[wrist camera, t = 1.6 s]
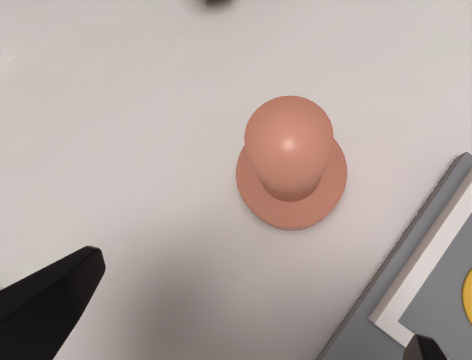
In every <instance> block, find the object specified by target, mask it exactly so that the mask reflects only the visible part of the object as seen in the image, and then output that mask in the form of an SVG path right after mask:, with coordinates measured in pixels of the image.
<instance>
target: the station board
mask: <svg viewBox="0 0 472 360" xmlns="http://www.w3.org/2000/svg"><path fill="white" fill-rule="evenodd" d="M414 334H421V335H425V336H428V337H431V338H433V339H434V340H435V341H436V342H437V344H438V345H439V347H440V348H441V350H442V351H443V353H444V354H445V356H446V357H447V359H448V360H472V155H471V154H469V153H468V152H465V153H463V154H462V155H460V156H458V157H457V158H456V159H455V161H454V162H453V164H452V165H451V166H450V168H449V169H448V171H447V172H446V174H445V175H444V177H443V178H442V179H441V181H440V182H439V184H438V185H437V187H436V188H435V190H434V191H433V192H432V194H431V195H430V197H429V198H428V200H427V201H426V203H425V204H424V205H423V207H422V208H421V210H420V211H419V213H418V214H417V216H416V217H415V218H414V220H413V221H412V223H411V224H410V226H409V227H408V228H407V230H406V231H405V233H404V234H403V236H402V237H401V239H400V240H399V241H398V243H397V244H396V246H395V247H394V249H393V250H392V252H391V253H390V254H389V256H388V257H387V259H386V260H385V262H384V263H383V265H382V266H381V267H380V269H379V270H378V272H377V273H376V275H375V276H374V278H373V279H372V280H371V282H370V283H369V285H368V286H367V288H366V289H365V291H364V292H363V293H362V295H361V296H360V298H359V299H358V301H357V302H356V303H355V305H354V306H353V308H352V309H351V311H350V312H349V314H348V315H347V316H346V318H345V319H344V321H343V322H342V324H341V325H340V327H339V328H338V329H337V331H336V332H335V334H334V335H333V337H332V338H331V340H330V341H329V342H328V344H327V345H326V347H325V348H324V350H323V351H322V353H321V354H320V355H319V357H318V358H317V360H403V353H404V350H405V348H406V347H407V345H408V343H409V342H410V340H411V338H412V337H413V335H414Z"/></svg>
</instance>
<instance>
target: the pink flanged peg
mask: <svg viewBox="0 0 472 360" xmlns="http://www.w3.org/2000/svg"><path fill="white" fill-rule="evenodd" d="M244 140H245V146H244V147H243V149H242V151H241V153H240V155H239V159H238V162H237V168H236V179H237V185H238V189H239V192H240V194H241V196H242V198H243V200H244V202H245V203H246V204H247V206H248V207H249V208H250V209H251V210H252V211H253V212H254V213H255V214H256V215H257V216H258V217H259V218H260V219H261V220H262V221H264V222H265V223H267V224H269V225H271V226H273V227H276V228H279V229H284V230H300V229H304V228H308V227H310V226H313V225H315V224H317V223H318V222H320V221H321V220H323V219H324V218H325V217H326V216H327V215H328V214H329V213H330V212H331V210H332V209H333V208H334V207H335V205H336V204H337V203H338V201H339V200H340V198H341V196H342V194H343V192H344V189H345V185H346V181H347V166H346V160H345V157H344V154H343V152H342V150H341V148H340V146H339V145H338V143H337V142H336V141H335V139H334V138H333V129H332V125H331V122H330V120H329V118H328V116H327V114H326V113H325V112H324V111H323V109H322V108H321V107H319V106H318V105H317V104H316V103H314V102H312V101H310V100H308V99H306V98H303V97H298V96H282V97H278V98H274V99H272V100H270V101H268V102H266V103H264V104H263V105H261V106H260V107H259V108H258V109H257V110H256V111H255V112H254V113H253V115H252V116H251V118H250V119H249V121H248V124H247V126H246V130H245V139H244Z"/></svg>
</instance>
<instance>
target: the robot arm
mask: <svg viewBox="0 0 472 360" xmlns="http://www.w3.org/2000/svg"><path fill="white" fill-rule="evenodd" d="M105 267H106V266H105V262H104V258H103V254H102V251H101V249H99V248H97V247H93V246H85V247H83V248H81V249H79V250H77V251H76V252H74V253H72V254H70V255H68V256H66V257H64V258H62V259H60V260H58V261H56V262H54V263H52V264H50V265H49V266H47V267H45V268H43V269H41V270H39V271H37V272H35V273H33V274H31V275H29V276H27V277H25V278H23V279H22V280H20V281H18V282H16V283H14V284H12V285H10V286H8V287H6V288H4V289H2V290H0V360H53V358H54V357H55V355H56V354H57V352H58V351H59V349H60V348H61V346H62V345H63V343H64V342H65V340H66V339H67V337H68V336H69V334H70V333H71V331H72V330H73V328H74V327H75V325H76V324H77V322H78V321H79V319H80V317H81V316H82V314H83V312H84V310H85V308H86V307H87V305H88V303H89V301H90V299H91V297H92V295H93V293H94V292H95V290H96V288H97V286H98V284H99V282H100V280H101V279H102V277H103V275H104V272H105ZM403 360H448V359H447V357H446V356H445V354H444V353H443V351H442V350H441V348H440V347H439V345H438V344H437V342H436V341H435V340H434V339H433V338H431V337H428V336H425V335H421V334H414V335H413V337H412V338H411V340H410V342H409V343H408V345H407V347H406V348H405V350H404V353H403Z"/></svg>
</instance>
